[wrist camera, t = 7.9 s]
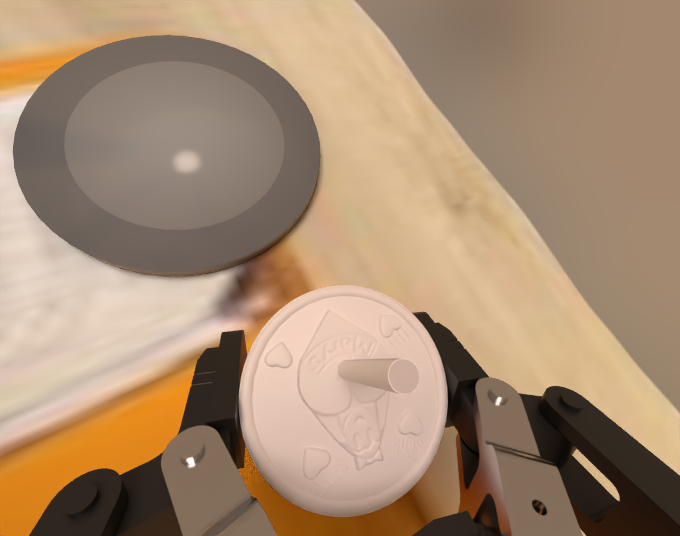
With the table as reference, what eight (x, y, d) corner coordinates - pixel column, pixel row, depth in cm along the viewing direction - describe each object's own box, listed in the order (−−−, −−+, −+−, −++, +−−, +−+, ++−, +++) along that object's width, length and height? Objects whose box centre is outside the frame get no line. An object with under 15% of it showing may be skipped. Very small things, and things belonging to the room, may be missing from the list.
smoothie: (348, 310, 19) (498, 200, 6) (378, 413, 18) (660, 556, 5) (247, 336, 18) (161, 264, 4) (271, 453, 16) (244, 855, 3)
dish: (244, 325, 18) (242, 322, 17) (-49, 194, 17) (-74, 181, 16) (353, 120, 24) (357, 108, 23) (145, 16, 23) (138, -3, 22)
